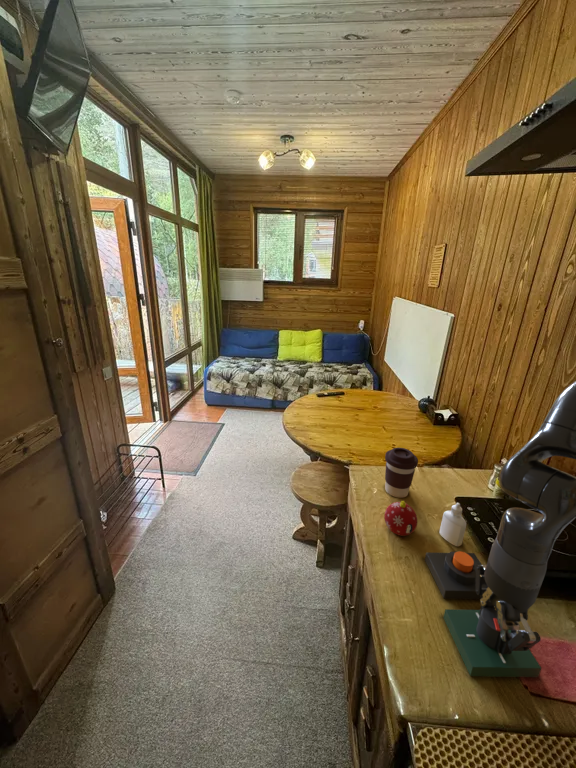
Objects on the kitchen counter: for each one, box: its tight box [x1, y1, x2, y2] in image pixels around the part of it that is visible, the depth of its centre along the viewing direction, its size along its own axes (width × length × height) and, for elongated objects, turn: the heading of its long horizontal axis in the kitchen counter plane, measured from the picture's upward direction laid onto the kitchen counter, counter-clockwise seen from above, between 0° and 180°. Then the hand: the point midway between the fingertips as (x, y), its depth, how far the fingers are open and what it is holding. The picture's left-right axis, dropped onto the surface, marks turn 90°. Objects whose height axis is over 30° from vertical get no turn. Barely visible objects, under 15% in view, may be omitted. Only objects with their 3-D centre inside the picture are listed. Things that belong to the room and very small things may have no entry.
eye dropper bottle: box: [438, 502, 467, 547], centre depth 82 cm, size 4×6×12 cm
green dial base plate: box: [443, 608, 542, 678], centre depth 58 cm, size 12×10×3 cm
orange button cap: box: [453, 551, 474, 573], centre depth 70 cm, size 4×4×2 cm
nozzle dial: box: [476, 608, 509, 649], centre depth 57 cm, size 4×4×5 cm
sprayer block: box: [424, 551, 485, 600], centre depth 71 cm, size 12×10×5 cm
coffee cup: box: [384, 447, 419, 499], centre depth 100 cm, size 10×10×15 cm
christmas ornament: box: [384, 500, 418, 537], centre depth 85 cm, size 9×9×10 cm
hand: (493, 635), depth 58 cm, fingers closed on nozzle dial, 4 cm apart
